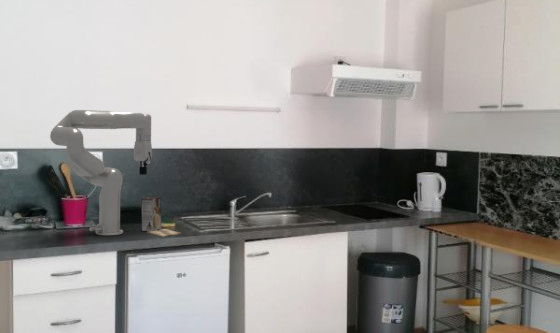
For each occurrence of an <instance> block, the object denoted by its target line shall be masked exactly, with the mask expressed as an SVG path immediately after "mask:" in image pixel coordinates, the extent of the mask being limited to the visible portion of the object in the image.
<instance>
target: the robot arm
mask: <svg viewBox="0 0 560 333" xmlns="http://www.w3.org/2000/svg"><path fill="white" fill-rule="evenodd" d="M80 129H82V130H84V129H85V130H121V129H135V142H134V145H133V160H134V161H135V162H136V163H137V164H138V167H139V175H140V176H143V175H145V176H146V175H147V174H148V173H147V172H148V171H147V170H148V169H147V168H148V165H149V164H151V161H152V160H153V148H152V147H153V146H152V115H150V114H149V113H142V112H125V111H124V112H121V111H115V110H114V111H111V110H93V109H91V110H90V109H74V110H72V111H69V113H68V114H66V115H64V117H63V118H62V119H61V120H60V121H59V122H58V123H57V124H56V125H55V126H54V127H53V128H52V129H51V131H50V135H49V138H50V140H51V142H52V143H53V144H54V145H56V146H61V147H66V156H67V159H68V161H69V162H70V163H71V167H72V170H73V173H75V174H76V175H77V176H78V177H80V178H81V179H83V180H84V181H86V182H88V183H90V184H91V185H92V186H96V187H101V190H100V193H99V197H98V198H99V200H98V204H99V205H98V206H99V207H98V210H99V212H98V213H99V215H98V216H99V217H98V223H97V224H96V226H90V227H89V230H88V231H90V232H95V234H96V235H97V236H98V235H99V236H105V237H106V236H109V237H110V236H118V235H121V234H122V235H123V233H124V230H123V229H121V193H122V192H121V189H122V185H123V174H122V172H121V171H120V170H119V169H118V168H116V167H115V168H114V167H110V166H107V167H106V166H105V164H104V161H102V160H101V158H99V157H97V156H95V155H94V154H93V153H91V152H90V151H88V150H87V149H86V148H85V145H84V135H83V132H82V131H81V130H80Z"/></svg>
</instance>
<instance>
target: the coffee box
mask: <svg viewBox="0 0 560 333" xmlns="http://www.w3.org/2000/svg"><path fill="white" fill-rule="evenodd" d="M161 200H162V199H161V196H149V197H143V198H141V202H140V204H141V230H142V231H143V232H147V231H155V230H161V229H162V210H161V205H162V202H161Z"/></svg>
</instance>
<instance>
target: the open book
mask: <svg viewBox="0 0 560 333" xmlns="http://www.w3.org/2000/svg"><path fill="white" fill-rule="evenodd" d="M146 233H147V234H151V235H154V236H158V237H163V238H164V237H165V238H166V237H171V236H176V235H182V232H179V231H175V230H171V229H168V228H160V229H157V230H155V231H146Z"/></svg>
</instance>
